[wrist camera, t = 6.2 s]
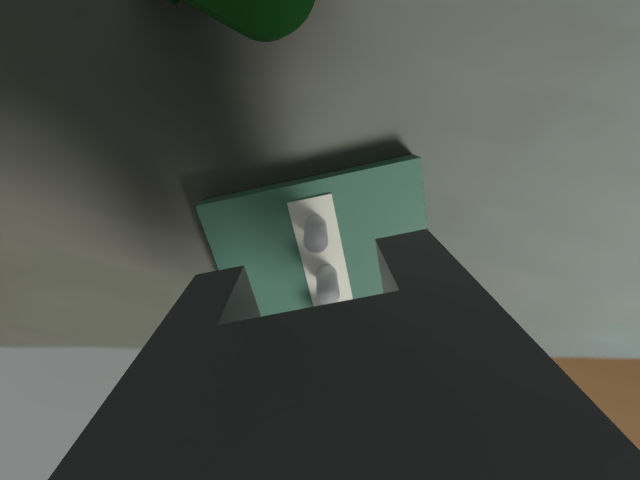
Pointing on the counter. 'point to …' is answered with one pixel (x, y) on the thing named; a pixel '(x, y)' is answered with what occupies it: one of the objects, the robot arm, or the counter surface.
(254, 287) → the pin board
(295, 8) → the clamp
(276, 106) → the counter surface
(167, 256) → the counter surface
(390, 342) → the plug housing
